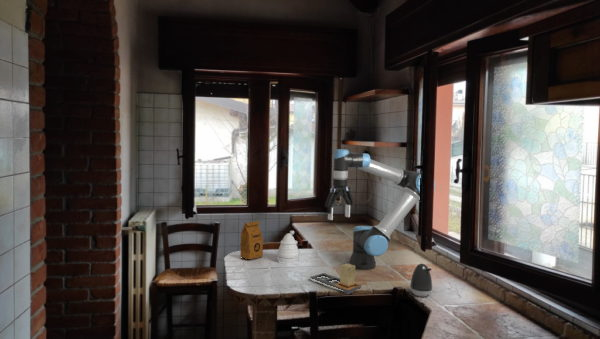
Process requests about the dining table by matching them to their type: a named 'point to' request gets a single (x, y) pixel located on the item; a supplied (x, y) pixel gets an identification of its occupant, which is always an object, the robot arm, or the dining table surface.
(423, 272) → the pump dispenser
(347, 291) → the rail
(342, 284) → the brass peg
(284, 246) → the honey pot
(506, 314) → the dining table surface
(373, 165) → the robot arm
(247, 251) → the coffee package
